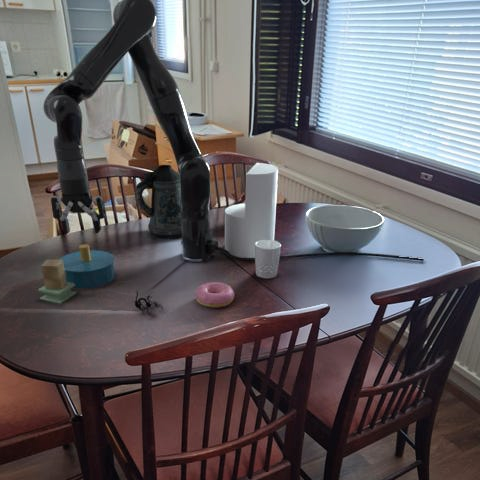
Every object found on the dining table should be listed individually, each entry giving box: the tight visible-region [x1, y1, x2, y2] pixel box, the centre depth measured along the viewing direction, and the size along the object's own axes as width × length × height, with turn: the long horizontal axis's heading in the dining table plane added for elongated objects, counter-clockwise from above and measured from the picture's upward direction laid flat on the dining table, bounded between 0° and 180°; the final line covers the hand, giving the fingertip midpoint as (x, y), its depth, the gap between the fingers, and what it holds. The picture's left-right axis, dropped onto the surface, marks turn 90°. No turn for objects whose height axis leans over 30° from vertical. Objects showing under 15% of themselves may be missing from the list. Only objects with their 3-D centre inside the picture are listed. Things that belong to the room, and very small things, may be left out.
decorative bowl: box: [304, 204, 385, 253], centre depth 168 cm, size 27×27×12 cm
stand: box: [38, 282, 77, 304], centre depth 133 cm, size 7×7×4 cm
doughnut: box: [194, 281, 235, 309], centre depth 133 cm, size 11×11×4 cm
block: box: [40, 259, 67, 290], centre depth 131 cm, size 4×4×7 cm
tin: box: [65, 263, 116, 290], centre depth 144 cm, size 15×15×6 cm
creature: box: [133, 290, 164, 318], centre depth 127 cm, size 8×5×8 cm
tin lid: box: [58, 243, 115, 273], centre depth 141 cm, size 16×16×6 cm
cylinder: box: [224, 162, 279, 258], centre depth 162 cm, size 17×17×28 cm
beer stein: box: [134, 164, 182, 241], centre depth 174 cm, size 16×19×25 cm
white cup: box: [254, 239, 282, 279], centre depth 148 cm, size 8×8×10 cm
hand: (82, 232), depth 137 cm, fingers open, 8 cm apart
